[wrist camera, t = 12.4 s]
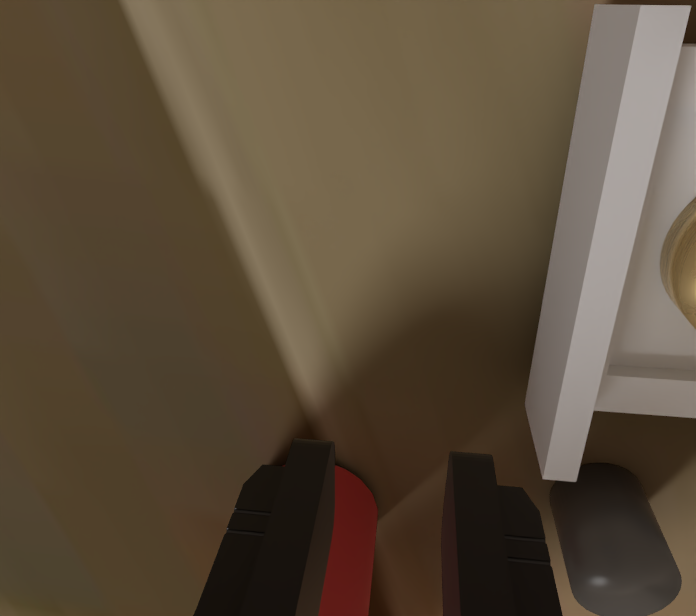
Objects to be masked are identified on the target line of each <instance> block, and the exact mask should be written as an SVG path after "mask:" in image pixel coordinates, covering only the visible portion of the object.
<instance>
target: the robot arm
mask: <svg viewBox="0 0 696 616" xmlns="http://www.w3.org/2000/svg"><path fill="white" fill-rule="evenodd" d="M334 515H335V445H334V442H333V441H322V440H310V439H297V438H295V439H294V440H293V442H292V445H291V448H290V451H289V454H288V458H287V461H286V464H285V467H284V466H273V465H262V466H261V467H260V468H259V469H258V470H257V471H256V472H255V473H254V474H253V475H252V476H251V477H250V478H249V479H248V480H247V481H246V482H245V483H244V484H243V487H242V490H241V492H240V495H239V498H238V500H237V503H236V505H235V508H234V513H232V516H231V519H230V521H229V524H228V527H227V532H226V534H225V535H224V537H223V540H222V542H221V545H220V548H219V550H218V553H217V556H216V558H215V561H214V564H213V566H212V569H211V572H210V574H209V577H208V579H207V582H206V585H205V587H204V590H203V593H202V595H201V598H200V601H199V603H198V606H197V609H196V611H195V613H194V615H193V616H318V614H319V609H320V603H321V597H322V592H323V586H324V580H325V575H326V569H327V563H328V558H329V552H330V546H331V540H332V534H333V526H334ZM441 553H442V590H443V616H563V615H562V611H561V606H560V602H559V597H558V593H557V588H556V584H555V579H554V575H553V570H552V567H551V566H550V557H549V552H548V548H547V544H545V534H544V530H543V525H542V521H541V516H540V512H539V510H538V509H537V507H536V506H535V505H534V503H533V502H532V501H531V499H530V498H529V497H528V495H527V494H526V492H525V491H524V490H523V488H521V487H509V486H498V485H497V482H496V475H495V468H494V462H493V457H492V455H488V454H476V453H464V452H452V451H451V452H450V454H449V461H448V470H447V479H446V488H445V497H444V506H443V516H442V536H441Z"/></svg>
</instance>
